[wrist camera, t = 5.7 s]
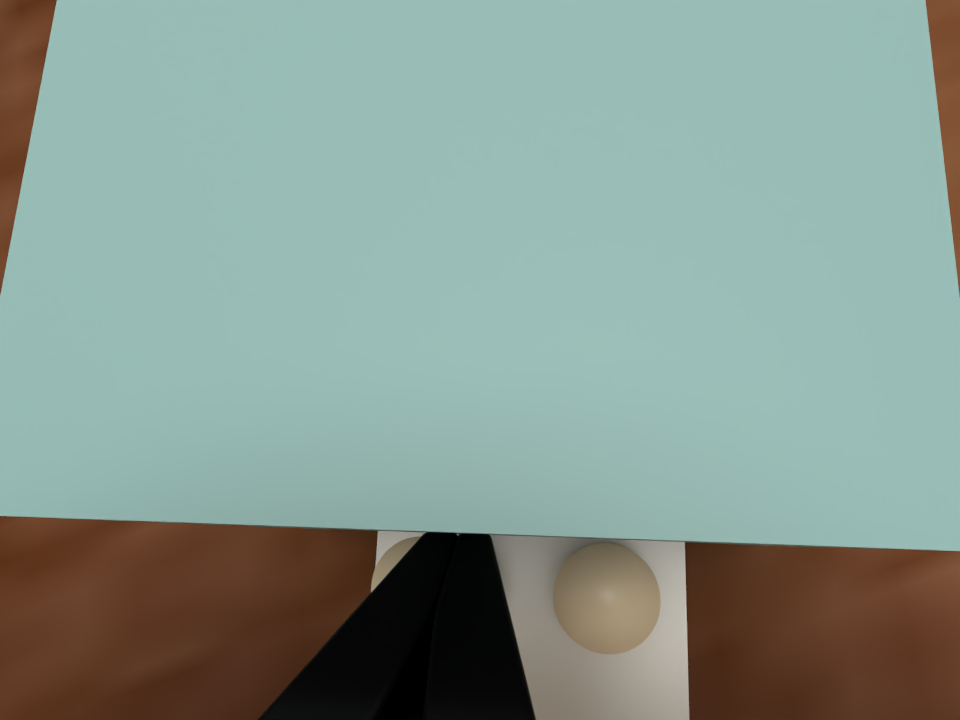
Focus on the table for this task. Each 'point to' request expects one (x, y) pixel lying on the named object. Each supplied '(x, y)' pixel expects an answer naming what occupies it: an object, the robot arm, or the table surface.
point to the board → (576, 665)
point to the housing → (488, 271)
